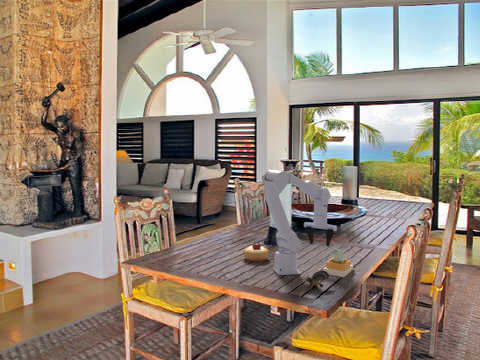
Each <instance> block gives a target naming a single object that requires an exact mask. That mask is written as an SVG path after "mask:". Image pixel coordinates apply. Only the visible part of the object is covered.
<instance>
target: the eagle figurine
mask: <svg viewBox="0 0 480 360" xmlns="http://www.w3.org/2000/svg"><path fill="white" fill-rule="evenodd" d="M329 276H330V275H329V274H328V273H327V272H326V271H323V270H319V271H317V272H314V273H313V274H312V277H310V276H309V275H308V276H307V275H306V276H304V277H303V281H304V282H305V283H307V284H306V285H307V286H309V289H308V290H309V291H312V289H313V287H314V286H315V287H316V288H318V289H320V290H321V289H322V287H321V285H322V286H324V284H322V283H321V282H320V281H324V280H327V279H328V278H329Z"/></svg>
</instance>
